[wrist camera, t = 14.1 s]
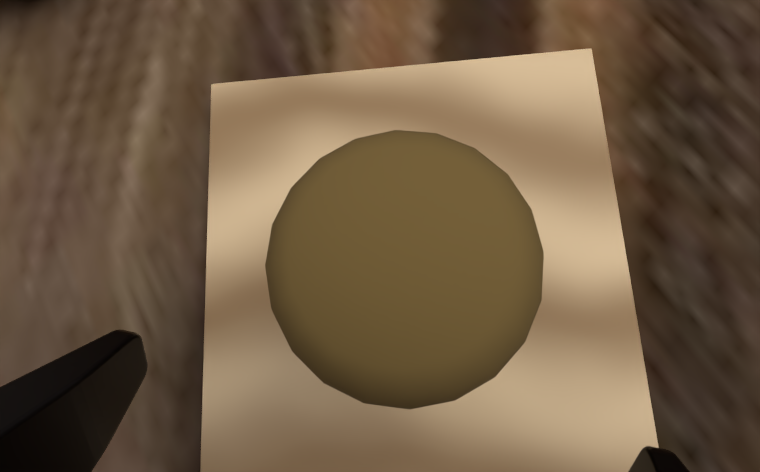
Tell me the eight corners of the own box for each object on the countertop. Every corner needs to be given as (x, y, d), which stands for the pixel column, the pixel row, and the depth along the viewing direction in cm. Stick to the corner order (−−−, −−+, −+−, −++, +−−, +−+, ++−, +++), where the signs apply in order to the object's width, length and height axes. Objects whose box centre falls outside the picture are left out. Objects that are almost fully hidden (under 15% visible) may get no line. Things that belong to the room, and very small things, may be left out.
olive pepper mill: (456, 206, 19) (500, 27, 9) (520, 357, 18) (668, 365, 7) (311, 261, 19) (174, 150, 9) (363, 416, 18) (276, 513, 7)
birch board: (667, 589, 17) (685, 607, 16) (210, 598, 18) (196, 615, 17) (582, 64, 22) (591, 48, 20) (222, 97, 23) (211, 84, 21)
